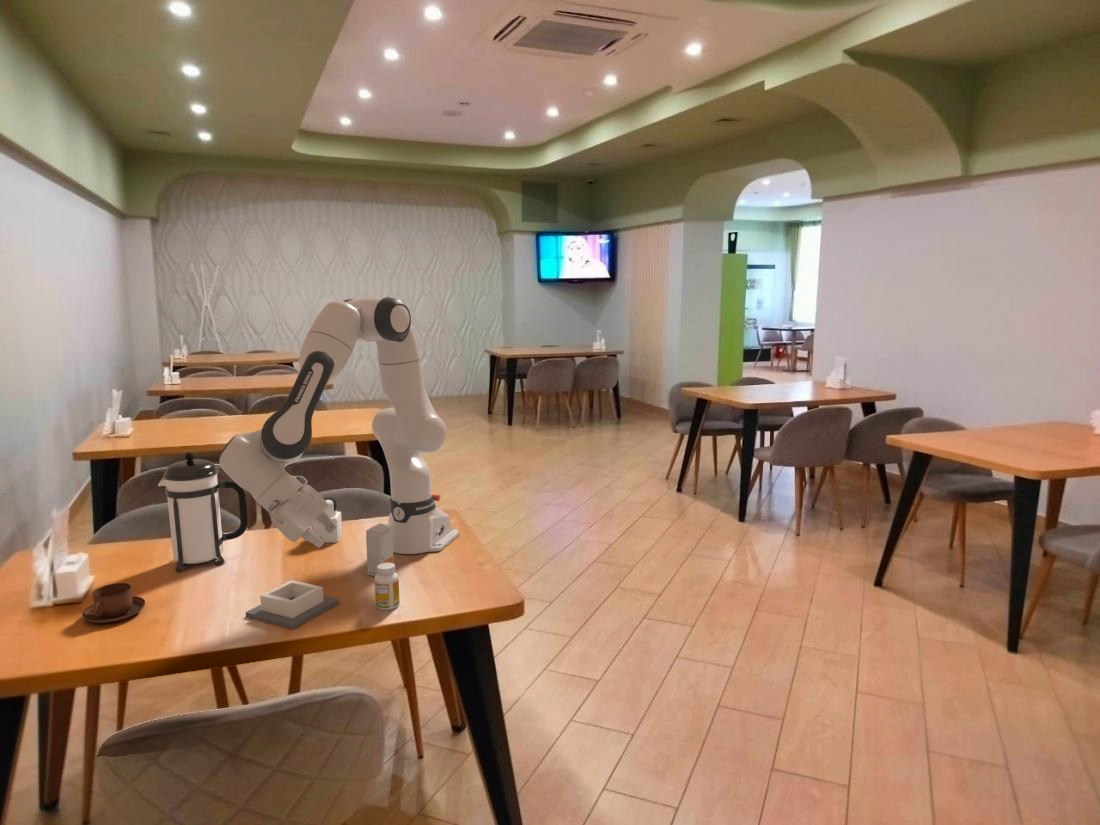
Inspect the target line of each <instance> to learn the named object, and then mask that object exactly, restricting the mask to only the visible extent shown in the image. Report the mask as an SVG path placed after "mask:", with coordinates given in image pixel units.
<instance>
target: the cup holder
mask: <svg viewBox="0 0 1100 825" xmlns="http://www.w3.org/2000/svg"><path fill="white" fill-rule="evenodd" d="M259 597H260V604H259V605H258V606H255V607H254V608H251V609H249V610H247V611H245V617H246V618H250V619H253V620H257V621H261V622H264V623H268V624H271V625H276V626H280V627H283V628H287V629H291V630H294V629H296V628H298V627H299V626H301V625H303V624H305V623H306V622H308V621H310V620H312V619H314V618H316V617H318V616H319V615H321V614H322V613H324V612H326V611H328V610H329V609H332V608H333V607H335V606H337V605H339V599H338V598H335V597H330V596H325V595H324V587H323V586H319V585H315V584H311V583H307V582H303V581H299V580H293V579H290V580H289V581H287V582H285V583H282V584H281V585H279V586H276V587H274V588H273V589H271V590H269V591H267V592H264V593H262V594H261V595H260V596H259Z"/></svg>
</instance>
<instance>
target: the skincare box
mask: <svg viewBox="0 0 1100 825" xmlns="http://www.w3.org/2000/svg"><path fill="white" fill-rule="evenodd" d="M365 540H366V541H365V542H366V563H367V564H366V567H367V569H366V570H367V571H366V572H367V576H372V577H375V576H376V575H377V574H378V573H377V566H378V565H379V564H382V563H393V564H395V563H394V552H393V529H392V525H388V523H387V524H384V523H378V524H376V525H374V526H371V527H370V528H368V529H367V530H365Z"/></svg>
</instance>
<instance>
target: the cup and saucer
mask: <svg viewBox="0 0 1100 825" xmlns="http://www.w3.org/2000/svg"><path fill="white" fill-rule="evenodd" d="M92 598H93V604H91V605H90V606H88V607H86V608H85V609H84V610H83V611H82V613H81V615H82V617H83V619H84V620H85V621H87V622H89V623H94V624H108V623H109V624H110V623H113V622H115V623H116V622H119V621H122V620H125V619H128V618H130V617H132V616H134V615H136V614H138V613H139V612H141V611H142V610H143V608H144V607H145V605H146V601H145V599H144V598H143V597H141V596H140V597H139V596H134V595H133V589H132V585H131V584H130V583H127V582H117V583H112V584H111V583H110V584H107V585H103V586H101V587H98V588H96V589H95V590H93V592H92Z"/></svg>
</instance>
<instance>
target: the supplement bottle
mask: <svg viewBox="0 0 1100 825" xmlns="http://www.w3.org/2000/svg"><path fill="white" fill-rule="evenodd" d="M377 573H378V574H377V575H376V576H374V597H375V607H376V609H377V610H380V611H391V610H393V609H394V610H395V609H396V608H398V607H399V606H400V604H401V603H400V602H401V601H400V582H399V581H400V579H399V575H398V573H397V572H396V565H395V563H394V564H393V563H382V564H379V565H378V566H377Z"/></svg>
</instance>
